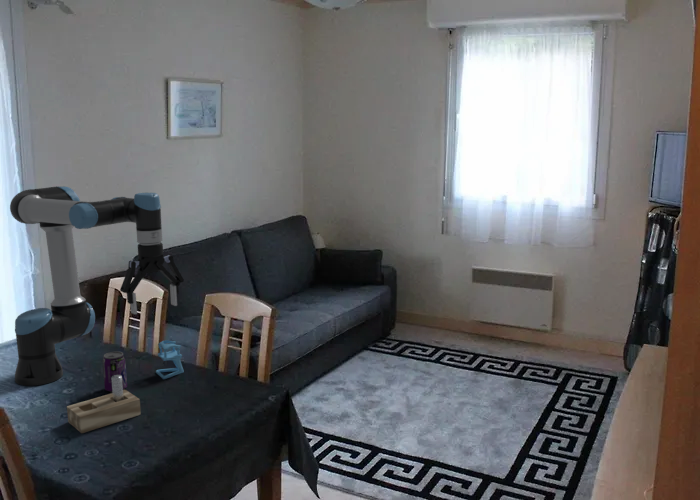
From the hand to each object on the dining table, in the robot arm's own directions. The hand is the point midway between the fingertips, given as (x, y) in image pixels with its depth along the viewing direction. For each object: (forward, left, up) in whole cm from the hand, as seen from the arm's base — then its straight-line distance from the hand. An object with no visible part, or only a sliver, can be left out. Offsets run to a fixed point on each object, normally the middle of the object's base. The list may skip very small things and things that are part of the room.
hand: (154, 309), depth 215 cm
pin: (+5, -16, -29) cm, 33 cm away
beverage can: (-14, -8, -29) cm, 33 cm away
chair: (-14, +12, -29) cm, 34 cm away
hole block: (+5, -20, -29) cm, 36 cm away
